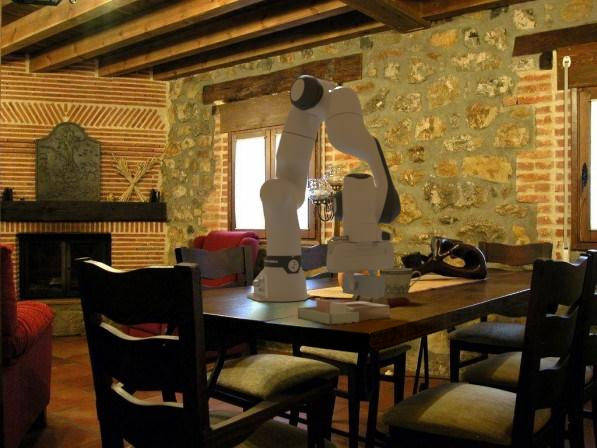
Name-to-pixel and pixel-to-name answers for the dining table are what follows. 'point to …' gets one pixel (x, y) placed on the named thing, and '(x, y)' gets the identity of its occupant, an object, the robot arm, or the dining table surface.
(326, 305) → the tile
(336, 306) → the tile
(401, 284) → the ceramic cup
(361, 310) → the pale flat square block
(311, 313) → the tray
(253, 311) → the dining table surface
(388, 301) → the gavel
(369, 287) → the small grey box
